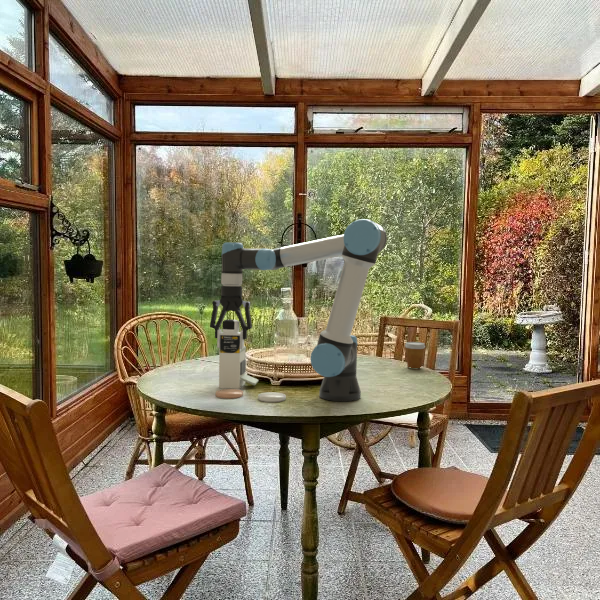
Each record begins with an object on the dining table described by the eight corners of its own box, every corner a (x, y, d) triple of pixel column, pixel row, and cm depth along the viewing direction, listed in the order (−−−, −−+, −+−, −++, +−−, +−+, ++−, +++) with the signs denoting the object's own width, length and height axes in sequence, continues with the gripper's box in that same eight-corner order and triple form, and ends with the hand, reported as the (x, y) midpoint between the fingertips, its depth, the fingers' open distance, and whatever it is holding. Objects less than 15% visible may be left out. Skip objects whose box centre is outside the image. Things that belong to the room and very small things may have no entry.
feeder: (259, 383, 223) (260, 346, 222) (254, 389, 213) (254, 350, 212) (225, 382, 225) (225, 345, 224) (218, 387, 214) (218, 349, 213)
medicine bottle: (219, 353, 199) (220, 320, 198) (221, 350, 206) (222, 318, 205) (239, 354, 199) (240, 320, 198) (240, 351, 206) (241, 318, 205)
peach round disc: (245, 392, 207) (246, 389, 207) (239, 399, 197) (239, 395, 197) (219, 391, 208) (219, 388, 208) (212, 397, 198) (212, 394, 198)
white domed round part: (287, 396, 203) (287, 392, 203) (283, 402, 193) (283, 399, 193) (260, 394, 204) (260, 391, 204) (255, 401, 195) (255, 398, 194)
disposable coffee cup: (420, 366, 270) (421, 341, 269) (427, 370, 260) (428, 344, 259) (401, 366, 268) (402, 341, 268) (407, 370, 259) (408, 344, 258)
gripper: (261, 285, 203) (260, 347, 205) (207, 284, 206) (206, 345, 207) (257, 286, 196) (256, 350, 197) (200, 284, 198) (200, 348, 200)
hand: (230, 347), depth 202 cm, fingers closed on medicine bottle, 8 cm apart
